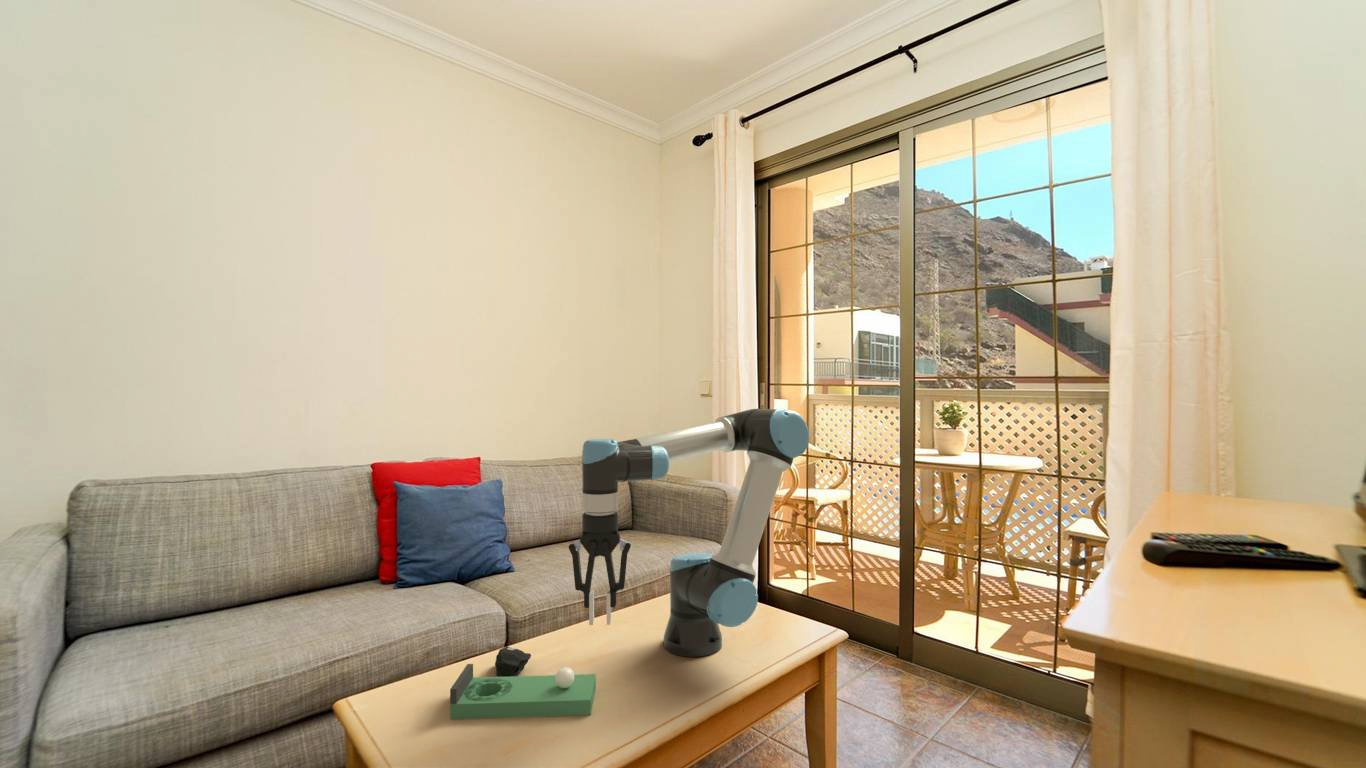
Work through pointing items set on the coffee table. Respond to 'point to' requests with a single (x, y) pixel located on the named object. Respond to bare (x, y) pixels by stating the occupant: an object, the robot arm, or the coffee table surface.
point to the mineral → (510, 662)
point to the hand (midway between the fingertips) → (600, 622)
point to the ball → (564, 677)
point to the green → (519, 696)
